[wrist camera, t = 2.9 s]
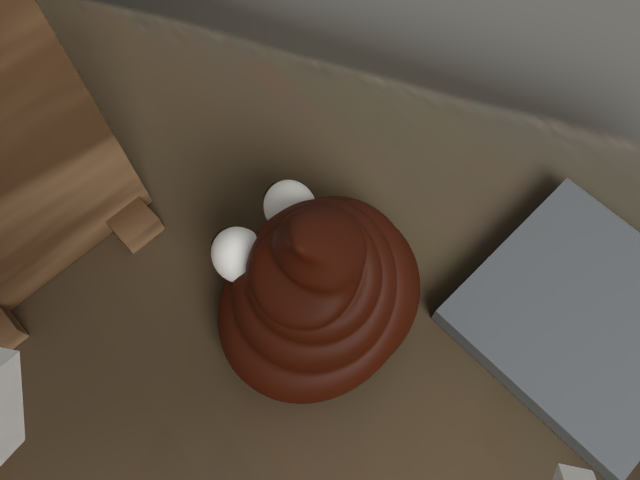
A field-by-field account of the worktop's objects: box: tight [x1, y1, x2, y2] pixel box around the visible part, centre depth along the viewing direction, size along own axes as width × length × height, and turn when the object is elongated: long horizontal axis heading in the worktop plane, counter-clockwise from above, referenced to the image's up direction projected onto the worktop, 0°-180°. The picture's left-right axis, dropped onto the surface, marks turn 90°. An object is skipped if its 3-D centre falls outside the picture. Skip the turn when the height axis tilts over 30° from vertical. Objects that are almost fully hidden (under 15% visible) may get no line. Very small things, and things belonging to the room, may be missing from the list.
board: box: [431, 178, 640, 480], centre depth 26 cm, size 10×10×1 cm
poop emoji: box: [211, 180, 420, 404], centre depth 23 cm, size 10×8×9 cm
